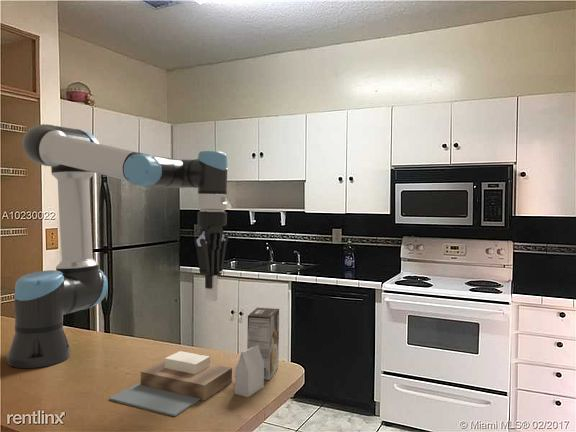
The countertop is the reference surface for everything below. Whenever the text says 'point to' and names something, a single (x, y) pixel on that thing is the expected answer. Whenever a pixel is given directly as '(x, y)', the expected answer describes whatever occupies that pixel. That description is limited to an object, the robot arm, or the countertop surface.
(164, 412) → the mat
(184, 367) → the tile
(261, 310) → the coffee box
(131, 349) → the countertop surface
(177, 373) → the brown flat block
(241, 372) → the tea bag
